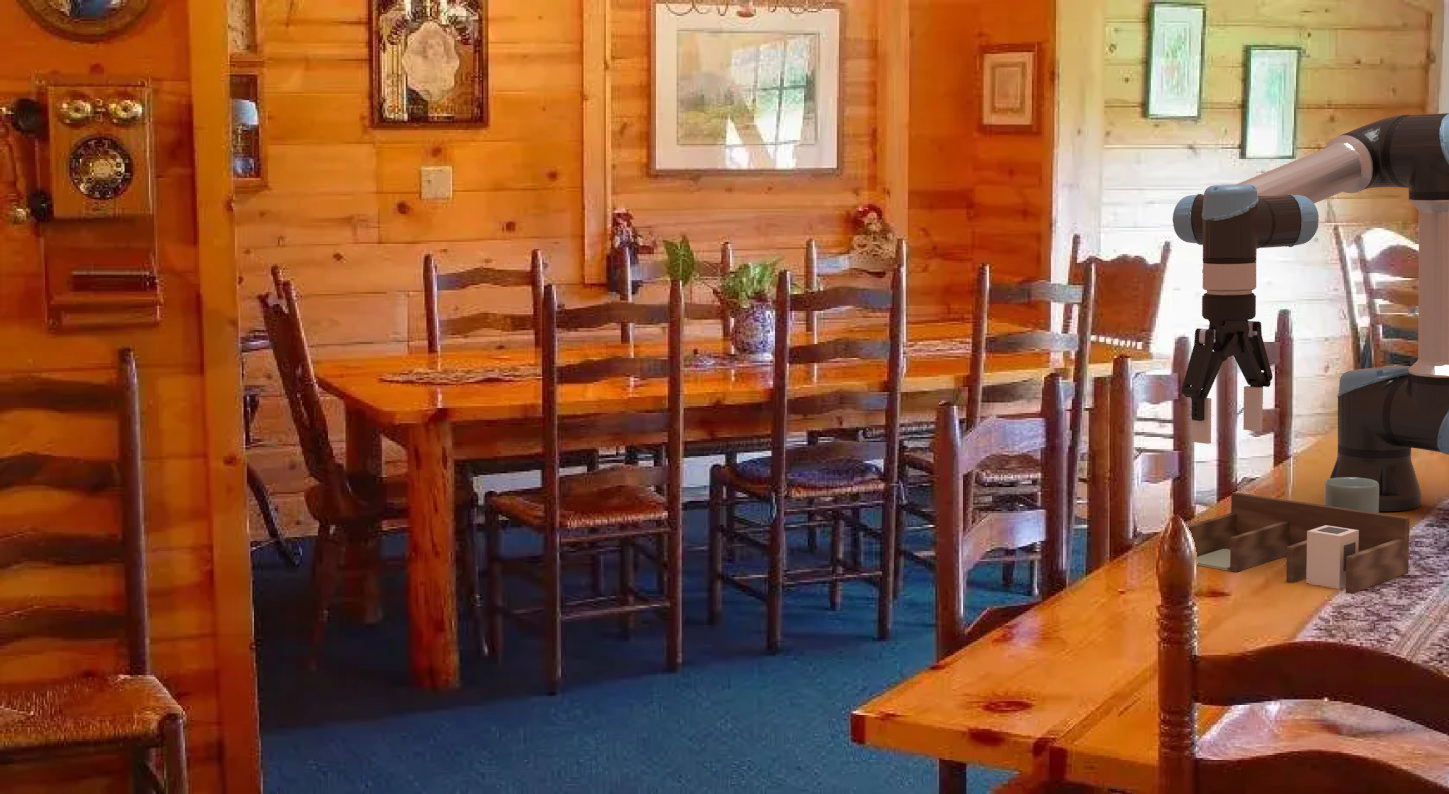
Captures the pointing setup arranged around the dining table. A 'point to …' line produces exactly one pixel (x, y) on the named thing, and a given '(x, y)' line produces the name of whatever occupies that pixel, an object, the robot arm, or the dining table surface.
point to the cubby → (1304, 537)
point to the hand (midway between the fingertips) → (1227, 436)
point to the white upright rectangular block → (1329, 555)
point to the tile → (1216, 559)
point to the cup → (1352, 493)
